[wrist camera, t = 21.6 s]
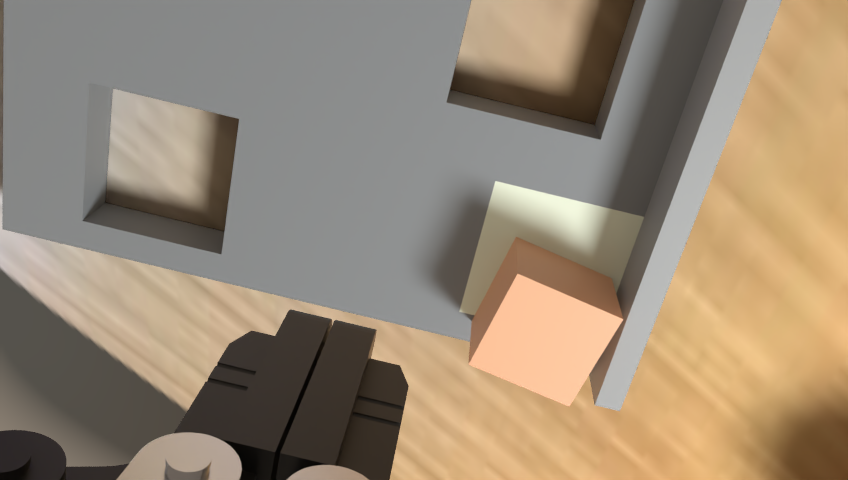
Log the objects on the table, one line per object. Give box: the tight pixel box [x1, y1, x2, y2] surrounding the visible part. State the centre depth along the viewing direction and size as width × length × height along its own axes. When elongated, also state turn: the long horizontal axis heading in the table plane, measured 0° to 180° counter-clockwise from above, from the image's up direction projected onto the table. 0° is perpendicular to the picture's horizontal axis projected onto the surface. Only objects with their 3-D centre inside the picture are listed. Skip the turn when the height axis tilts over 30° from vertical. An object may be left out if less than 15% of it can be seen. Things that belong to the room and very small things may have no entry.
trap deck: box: [3, 0, 782, 411], centre depth 36 cm, size 31×20×6 cm, turn 77°
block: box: [469, 237, 623, 406], centre depth 37 cm, size 5×5×4 cm
